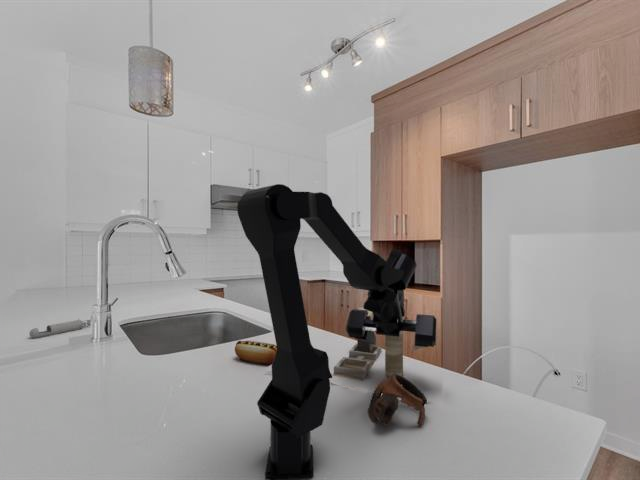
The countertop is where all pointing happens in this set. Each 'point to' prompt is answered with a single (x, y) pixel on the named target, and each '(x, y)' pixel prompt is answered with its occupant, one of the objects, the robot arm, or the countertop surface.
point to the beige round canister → (394, 355)
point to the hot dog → (256, 351)
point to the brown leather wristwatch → (395, 399)
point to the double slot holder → (356, 363)
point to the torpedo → (59, 328)
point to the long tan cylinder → (363, 345)
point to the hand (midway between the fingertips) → (394, 345)
